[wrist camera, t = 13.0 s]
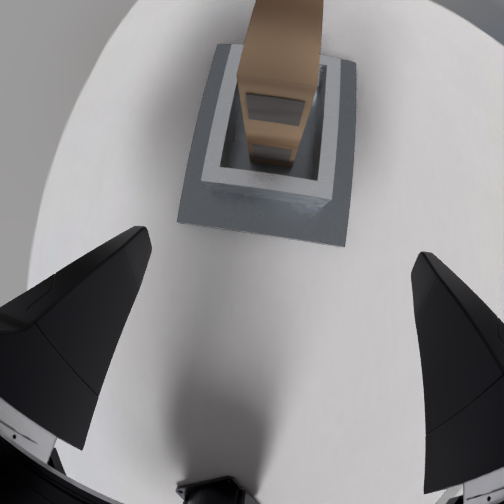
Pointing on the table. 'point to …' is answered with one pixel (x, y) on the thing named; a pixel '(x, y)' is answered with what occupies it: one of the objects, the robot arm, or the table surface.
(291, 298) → the table surface
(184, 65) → the table surface
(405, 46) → the table surface
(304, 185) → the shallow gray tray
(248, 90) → the tan tall block
